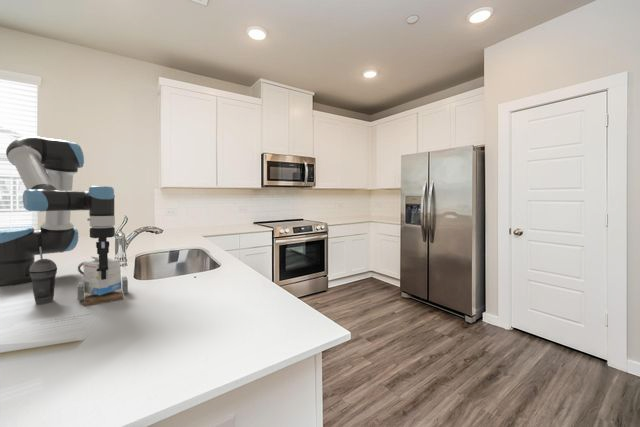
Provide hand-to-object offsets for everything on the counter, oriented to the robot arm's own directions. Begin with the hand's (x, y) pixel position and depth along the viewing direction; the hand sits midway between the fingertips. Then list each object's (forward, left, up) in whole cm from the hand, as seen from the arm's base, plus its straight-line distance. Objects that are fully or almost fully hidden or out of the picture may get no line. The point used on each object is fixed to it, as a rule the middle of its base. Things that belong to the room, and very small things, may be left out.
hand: (103, 283), depth 106 cm
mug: (-23, -2, -5) cm, 24 cm away
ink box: (0, 0, -3) cm, 3 cm away
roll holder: (0, 0, -5) cm, 5 cm away
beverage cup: (-5, -17, -5) cm, 18 cm away
